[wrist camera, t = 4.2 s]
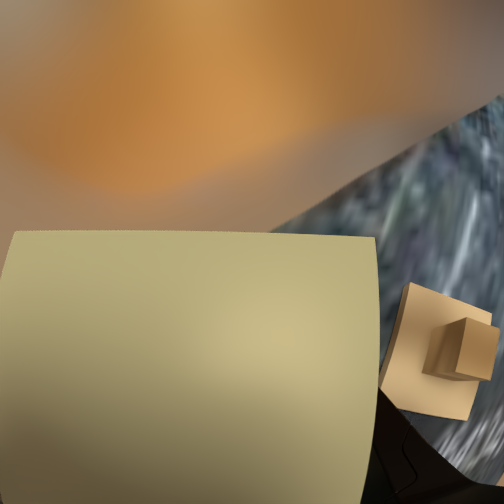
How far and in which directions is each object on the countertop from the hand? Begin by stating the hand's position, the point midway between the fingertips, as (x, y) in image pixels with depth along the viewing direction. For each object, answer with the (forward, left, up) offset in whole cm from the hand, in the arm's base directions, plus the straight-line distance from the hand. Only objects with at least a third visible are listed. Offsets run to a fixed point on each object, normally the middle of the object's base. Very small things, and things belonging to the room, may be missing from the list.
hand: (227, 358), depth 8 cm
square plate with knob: (+6, -9, -7) cm, 13 cm away
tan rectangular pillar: (-1, -1, -7) cm, 7 cm away
